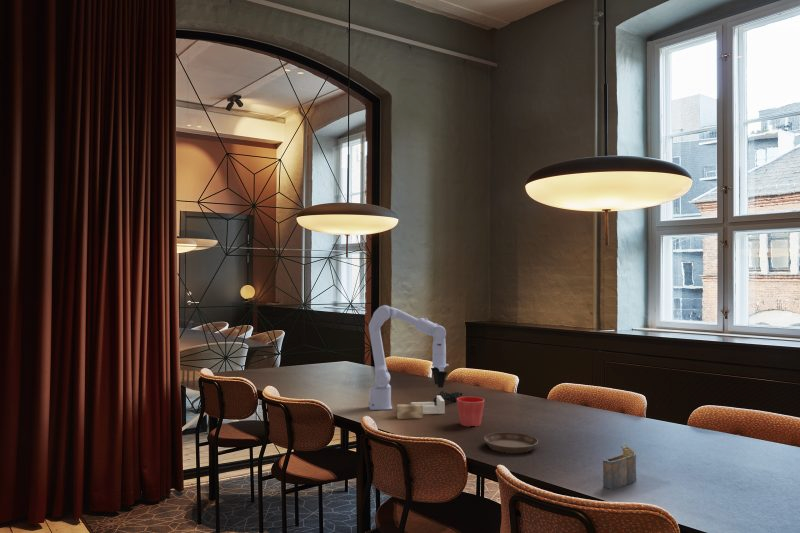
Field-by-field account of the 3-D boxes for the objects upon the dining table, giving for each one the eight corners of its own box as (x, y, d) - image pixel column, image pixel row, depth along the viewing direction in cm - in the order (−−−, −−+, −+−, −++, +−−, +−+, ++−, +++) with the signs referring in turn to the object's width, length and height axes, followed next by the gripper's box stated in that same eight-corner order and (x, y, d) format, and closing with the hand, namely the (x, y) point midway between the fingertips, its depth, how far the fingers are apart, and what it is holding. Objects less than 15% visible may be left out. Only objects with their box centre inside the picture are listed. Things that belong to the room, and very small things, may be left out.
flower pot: (488, 422, 237) (488, 397, 237) (479, 429, 227) (479, 402, 227) (462, 420, 242) (462, 395, 242) (452, 426, 232) (452, 400, 232)
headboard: (411, 414, 252) (411, 401, 252) (408, 408, 264) (408, 395, 264) (444, 413, 253) (444, 400, 253) (440, 407, 265) (440, 395, 265)
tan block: (397, 419, 244) (397, 406, 244) (397, 416, 248) (397, 404, 248) (422, 418, 245) (422, 406, 245) (421, 416, 249) (421, 403, 249)
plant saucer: (549, 450, 200) (549, 440, 201) (508, 458, 191) (508, 449, 191) (512, 438, 215) (512, 429, 215) (473, 445, 206) (473, 436, 206)
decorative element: (440, 408, 263) (440, 395, 263) (430, 407, 265) (430, 393, 265) (464, 401, 281) (464, 389, 282) (454, 400, 284) (454, 387, 284)
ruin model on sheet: (626, 479, 172) (625, 445, 172) (636, 482, 169) (635, 447, 170) (601, 488, 165) (601, 451, 165) (611, 491, 163) (611, 454, 163)
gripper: (451, 356, 255) (451, 388, 255) (445, 351, 270) (445, 382, 270) (434, 356, 255) (434, 388, 255) (429, 351, 269) (429, 382, 269)
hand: (439, 385), depth 262 cm, fingers open, 7 cm apart
